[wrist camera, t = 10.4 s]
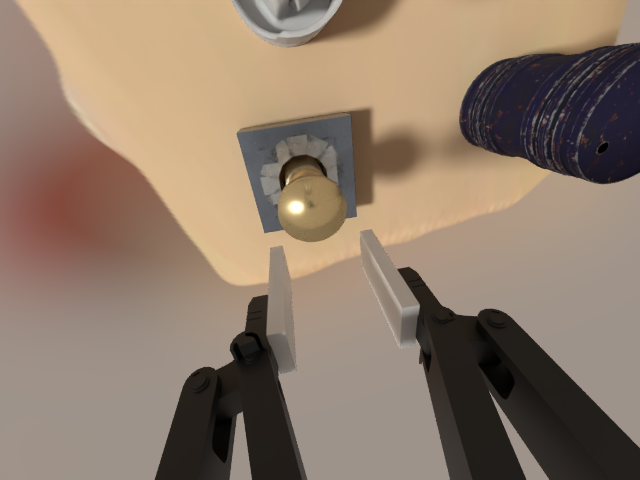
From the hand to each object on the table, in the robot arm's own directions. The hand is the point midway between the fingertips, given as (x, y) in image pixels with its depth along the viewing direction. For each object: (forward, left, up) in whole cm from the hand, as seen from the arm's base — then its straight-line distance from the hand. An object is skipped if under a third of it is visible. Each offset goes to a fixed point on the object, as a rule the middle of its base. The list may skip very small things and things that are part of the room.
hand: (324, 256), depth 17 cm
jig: (0, 0, -19) cm, 19 cm away
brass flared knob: (0, 0, -19) cm, 19 cm away
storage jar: (-4, +25, -19) cm, 32 cm away
